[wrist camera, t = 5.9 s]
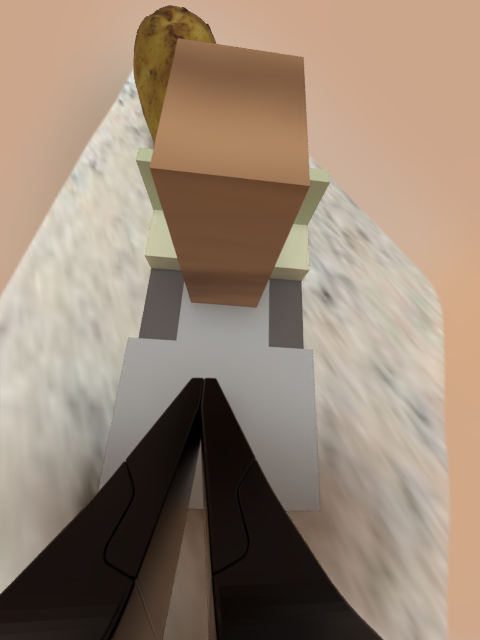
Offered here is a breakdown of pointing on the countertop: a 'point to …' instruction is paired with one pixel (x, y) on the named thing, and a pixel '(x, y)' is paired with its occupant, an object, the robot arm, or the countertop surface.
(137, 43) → the potato
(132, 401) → the trap board
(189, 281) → the walnut block
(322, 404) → the countertop surface
